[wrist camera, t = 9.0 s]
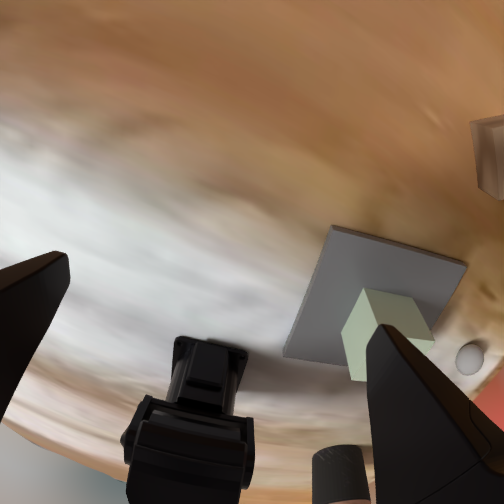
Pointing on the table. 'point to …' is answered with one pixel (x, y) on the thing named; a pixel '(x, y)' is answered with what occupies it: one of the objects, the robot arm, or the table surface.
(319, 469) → the travel mug
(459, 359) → the grey ball
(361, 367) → the sage block
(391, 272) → the plate
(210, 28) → the table surface
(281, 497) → the table surface
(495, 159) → the walnut block
